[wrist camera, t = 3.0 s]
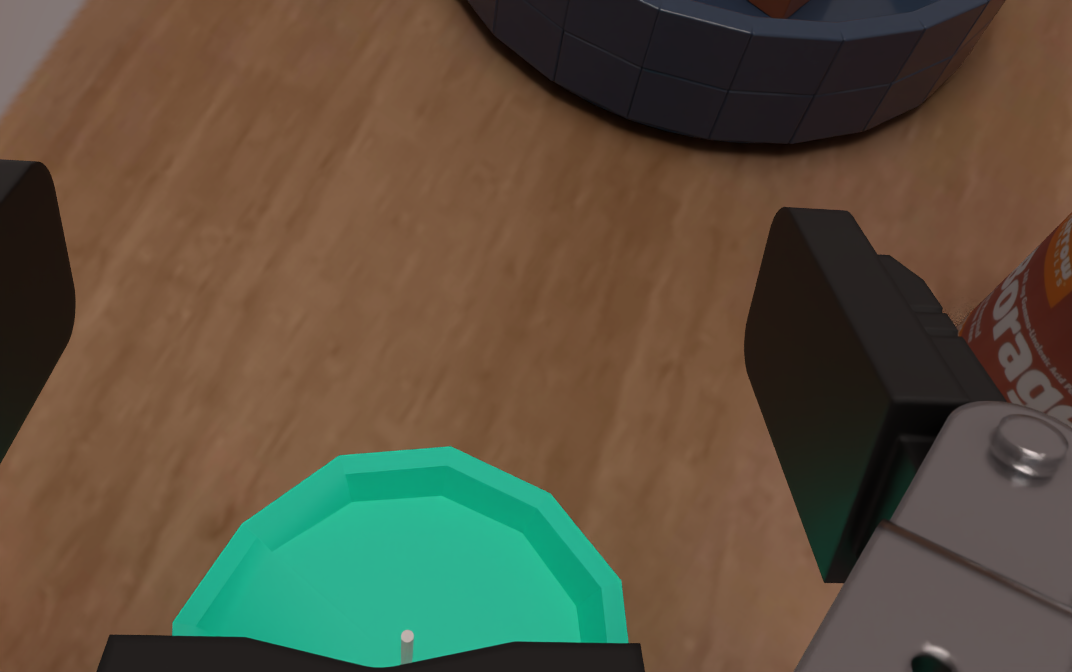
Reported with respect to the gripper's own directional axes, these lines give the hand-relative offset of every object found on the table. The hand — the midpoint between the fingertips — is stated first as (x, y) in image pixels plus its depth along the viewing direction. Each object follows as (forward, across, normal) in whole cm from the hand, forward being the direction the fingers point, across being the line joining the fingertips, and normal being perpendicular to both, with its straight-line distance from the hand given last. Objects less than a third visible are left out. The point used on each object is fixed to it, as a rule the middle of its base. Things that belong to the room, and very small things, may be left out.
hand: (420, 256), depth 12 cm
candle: (+3, 0, +14) cm, 15 cm away
